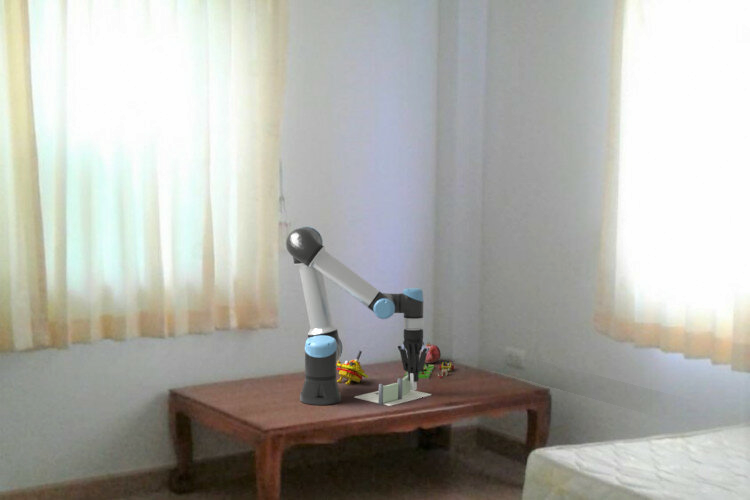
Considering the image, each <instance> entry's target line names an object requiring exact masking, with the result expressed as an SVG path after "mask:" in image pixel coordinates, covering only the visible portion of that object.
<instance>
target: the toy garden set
mask: <svg viewBox="0 0 750 500" xmlns="http://www.w3.org/2000/svg"><path fill="white" fill-rule="evenodd" d="M434 368H435V364H430V363H425V364H424V369H423V371H422V372H419V377H418V379H425V378H430V377H429V376H431V375H432V373H433V370H434ZM432 369H433V370H432ZM438 370H439V371H441V375H440V374H439V373H438V374H437V377H438V378H439V379H442V378H443V377H447V375H448V372H452V371H451V370H455V366H454V365H452V362H449V361H448V360H446V361H444V362H442V363H441V364H439V365H438ZM407 373H408V372H407V371H406V372H405V373H404V377H405V376H407ZM430 374H431V375H430ZM448 376H449V375H448Z"/></svg>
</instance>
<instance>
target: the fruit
mask: <svg viewBox="0 0 750 500" xmlns="http://www.w3.org/2000/svg"><path fill="white" fill-rule="evenodd" d="M424 346H425V347H426V348H429V351H428V353H427V355H426V360H425V364H432V363H436V362H437V361H439V360H440V359H441V356H442V354H441V350H440V348H439V346H437V345H435V344H431V342H430V341H428V342H427V343H426V345H424ZM421 353H422V351H421V350H420V354H421Z"/></svg>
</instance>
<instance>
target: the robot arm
mask: <svg viewBox="0 0 750 500" xmlns="http://www.w3.org/2000/svg"><path fill="white" fill-rule="evenodd" d="M286 238H287V239H286V241H285V244H286V249H287V251H288V253H289V254H290V256H292V259H293V264H294V266H295V267H296V268H298V269H299V270H298V271H299V276H300V281H301V284H302V286H301V287H302V291H303V296H304V300H305V301H304V302H305V307H306V311H307V317H308V323H309V327H310V329H309V331H308V332H307V339H306V340H305V345H304V353H305V354H304V359H305V360H304V383H303V385H302V389H301V392H300V395H299V396H300V397H299V400H300V402H301V403H304V404H307V405H313V406H316V405H317V406H326V405H334V404H338V403H340V402H341V400H342V398H341V397H342V394H341V392H340V388H339V385H338V382H337V366H336V363H338V362H337V361H339V360H340V358H341V356H342V354H343V344H342V343H343V342H342V341H341V339H340V337H339V331H338V327H336V326H335V325H334V324H333V320H332V315H331V310H330V305H329V300H328V294H327V290H326V284H325V279H324V277H326V278H327V279H329V280H330V281H331V282H332V283H334V284H335V285H336V286H338V287H339V288H340V289H343V290H344V291H345V292H346V293H347V294H349V295H350V296H352V297H353V298H354V299H355V300H357V301H358V302H360V303H361V304H363V305H364V306H365V307H366V308H367V309H369V310H370V311H371V312H373V313H374V315H375V316H376V317H377V318H378V319H382V320H387V319H390V318H391V317H392V316H393V315H394V314H403V328H404V329H403V339H404V340H403V341H402V344H401V345H398V346H397V349H398V351H399V352H400V357H401V358H400V359H401V363H402V368H403V371H405V372H406V373H407V372H408V380H409V381H410V390H414V391H417V389H418V387H417V386H418V383H417V382H419V378H418V377H419V372H422V371H423V369H424V364H426V363H425V360H426V355H427V353H428V351H429V348H426V347H425V346H426V345H425V343H424V341H423V340H424V330H423V328H424V292H423V289H421V288H419V287H418V288H417V287H408V288H406V287H405V288H404V289H403V292H402V293H385V292H381V291H380V290H379V289H377V288H376V287H375V286H373V285H372V284H371V283H369V282H368V281H367V280H365V279H364V278H363V277H361V276H359V274H357V273H356V272H354V271H353V269H350V267H348V266H346V265H345V264H344V263H342V262H341V261H340V260H338V259H337V258H336V257H334V256H333V255H332V254H330V253H329V252H328V251H327V250H326V247H325V246H324V245H323V238H322V235H321V234H320V232H319V231H318V230H317V229H316V228H313V227H311V226H302V227H299V228H295V229H293V230H292V231H291V232H290V233H289V234H288V236H287V237H286ZM421 351H422V353H421Z"/></svg>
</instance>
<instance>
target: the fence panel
mask: <svg viewBox="0 0 750 500" xmlns="http://www.w3.org/2000/svg"><path fill="white" fill-rule="evenodd" d="M406 373H407V372H406ZM401 378H402V379H403V382H402V396H404V395H405V394H406V393H407V392H409V391H410V381H409V380H408V373H407V376H405V375H404V377H401Z"/></svg>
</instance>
